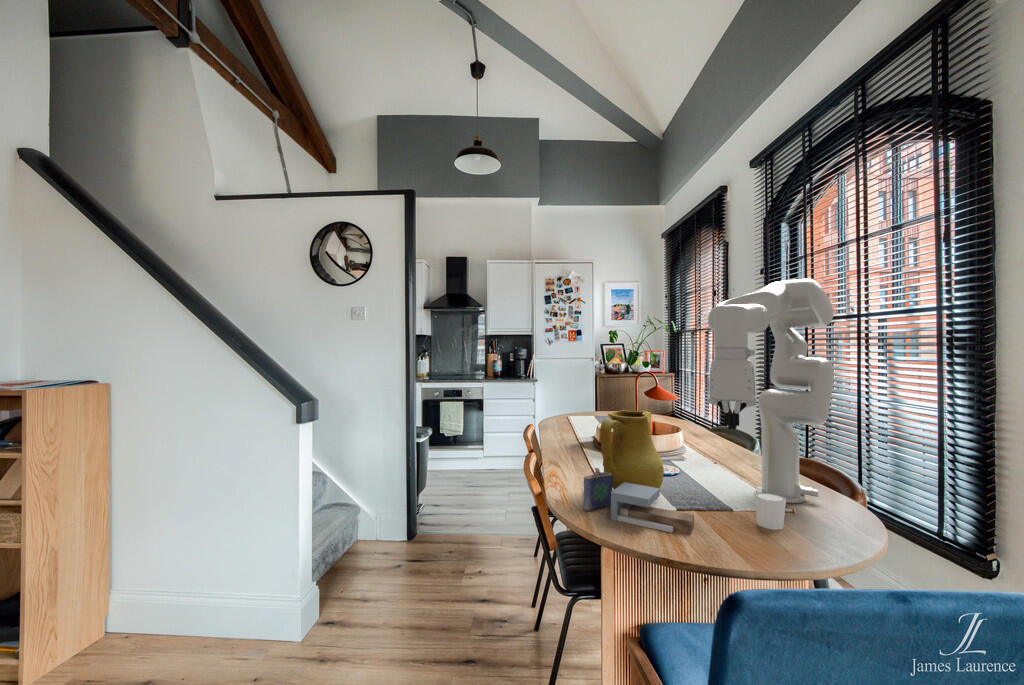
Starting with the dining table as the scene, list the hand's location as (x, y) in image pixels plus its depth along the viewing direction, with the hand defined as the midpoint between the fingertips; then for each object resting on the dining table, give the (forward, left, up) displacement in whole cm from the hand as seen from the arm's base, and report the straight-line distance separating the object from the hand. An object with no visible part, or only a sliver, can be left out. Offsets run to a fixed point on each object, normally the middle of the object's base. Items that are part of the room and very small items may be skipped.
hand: (732, 428), depth 111 cm
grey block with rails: (+19, +9, -24) cm, 32 cm away
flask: (+32, +8, -24) cm, 41 cm away
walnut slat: (+16, +10, -24) cm, 30 cm away
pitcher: (+28, -7, -24) cm, 38 cm away
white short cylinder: (-8, -5, -24) cm, 26 cm away
